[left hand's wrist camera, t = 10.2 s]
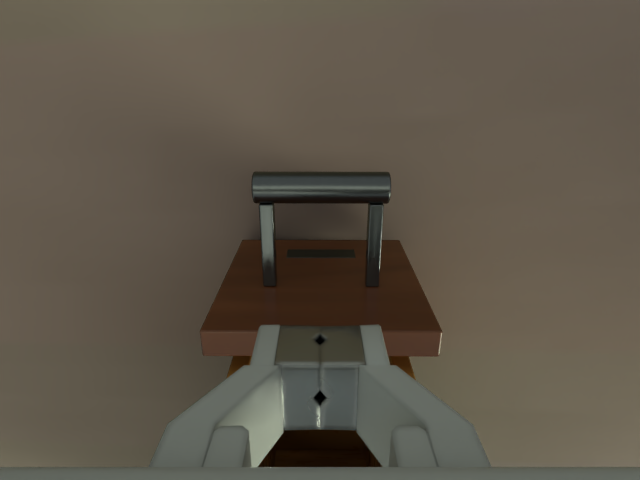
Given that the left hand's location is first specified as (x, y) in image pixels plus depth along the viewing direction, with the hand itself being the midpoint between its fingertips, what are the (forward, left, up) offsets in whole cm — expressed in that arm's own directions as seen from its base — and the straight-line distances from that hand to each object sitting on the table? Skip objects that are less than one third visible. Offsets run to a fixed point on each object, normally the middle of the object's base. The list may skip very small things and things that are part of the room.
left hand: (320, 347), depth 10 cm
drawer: (-6, +6, -14) cm, 16 cm away
